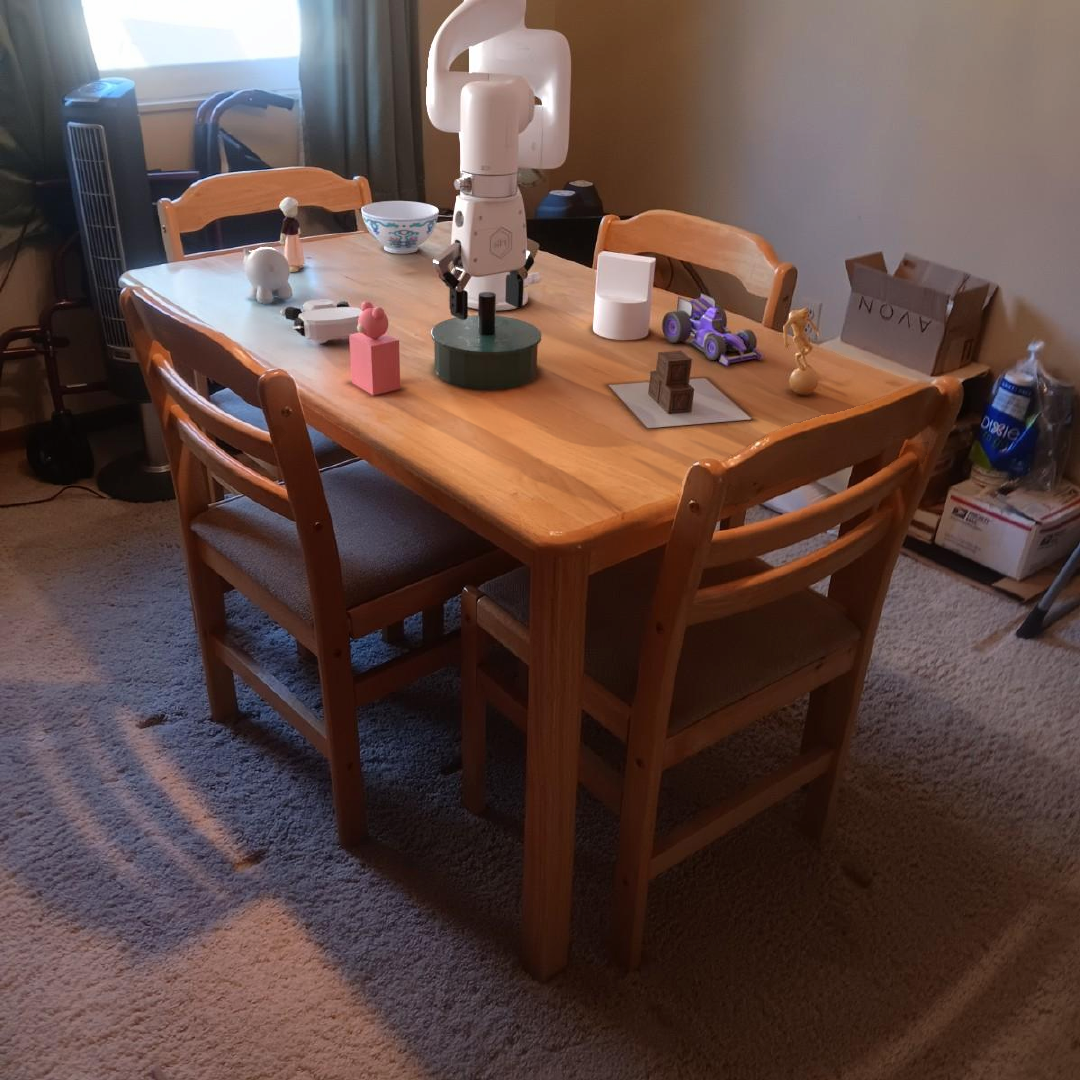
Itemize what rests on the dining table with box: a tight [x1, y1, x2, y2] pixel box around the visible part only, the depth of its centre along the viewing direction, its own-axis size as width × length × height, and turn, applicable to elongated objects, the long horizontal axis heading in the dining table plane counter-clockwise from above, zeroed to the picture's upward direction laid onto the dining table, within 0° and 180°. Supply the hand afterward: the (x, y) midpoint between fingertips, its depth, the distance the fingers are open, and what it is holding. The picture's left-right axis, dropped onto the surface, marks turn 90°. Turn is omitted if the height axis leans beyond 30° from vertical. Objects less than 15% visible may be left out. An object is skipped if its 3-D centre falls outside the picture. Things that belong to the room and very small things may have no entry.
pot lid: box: [430, 292, 542, 355], centre depth 142 cm, size 16×16×7 cm
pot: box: [433, 340, 539, 391], centre depth 144 cm, size 15×15×5 cm
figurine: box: [782, 308, 821, 396], centre depth 141 cm, size 8×6×12 cm
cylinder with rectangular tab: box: [592, 250, 656, 341], centre depth 161 cm, size 9×9×12 cm
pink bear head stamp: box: [348, 301, 401, 396], centre depth 136 cm, size 5×6×12 cm
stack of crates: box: [608, 350, 752, 429], centre depth 137 cm, size 15×15×7 cm
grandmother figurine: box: [279, 196, 306, 273], centre depth 183 cm, size 8×4×13 cm, turn 179°
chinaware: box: [360, 200, 440, 255], centre depth 199 cm, size 15×15×8 cm
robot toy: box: [279, 298, 363, 345], centre depth 155 cm, size 12×4×15 cm
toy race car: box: [661, 292, 763, 367], centre depth 157 cm, size 10×15×6 cm, turn 31°
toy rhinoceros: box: [242, 245, 293, 304], centre depth 170 cm, size 7×12×8 cm, turn 34°
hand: (486, 310), depth 141 cm, fingers open, 9 cm apart
